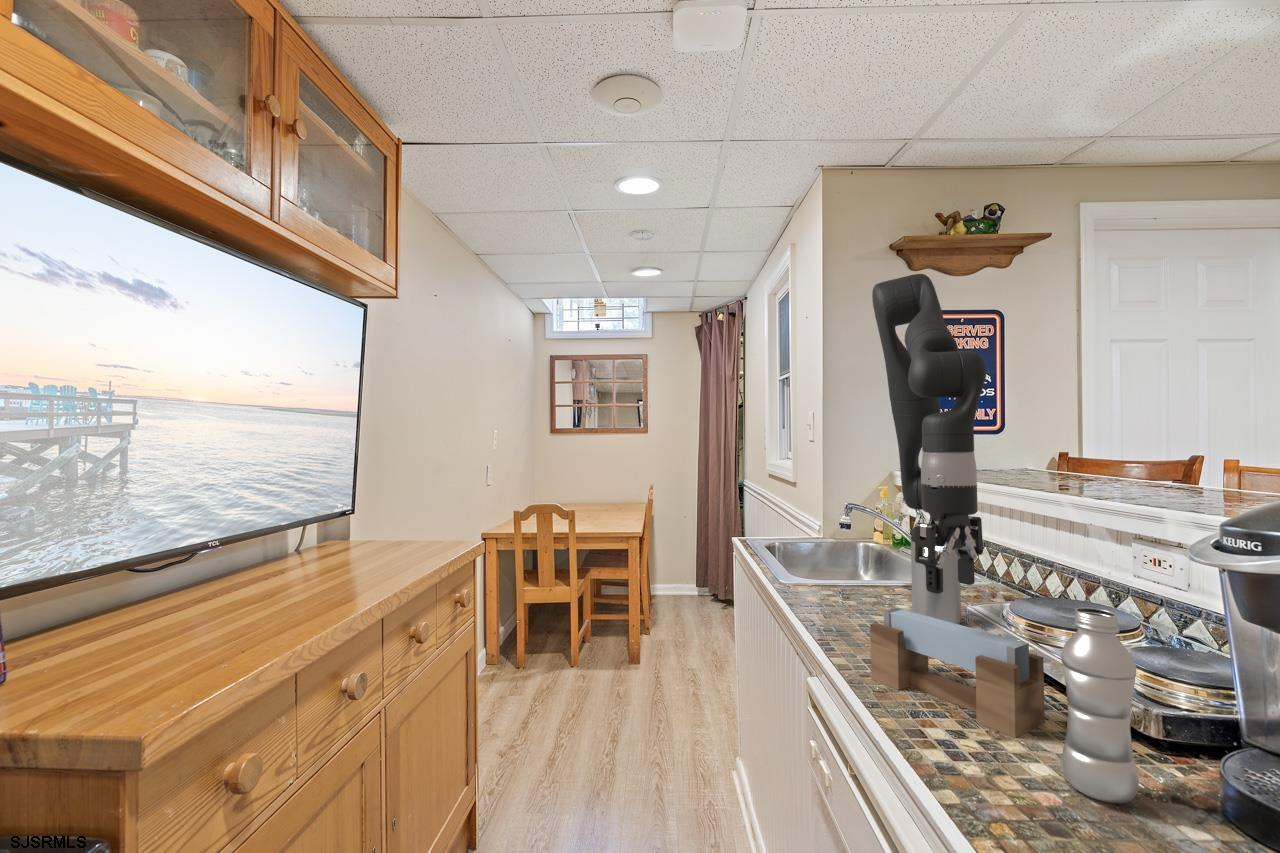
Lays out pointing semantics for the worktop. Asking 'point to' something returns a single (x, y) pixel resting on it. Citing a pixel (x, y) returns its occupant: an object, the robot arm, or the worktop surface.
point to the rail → (956, 641)
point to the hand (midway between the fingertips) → (950, 588)
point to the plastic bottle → (1099, 709)
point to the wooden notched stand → (996, 684)
